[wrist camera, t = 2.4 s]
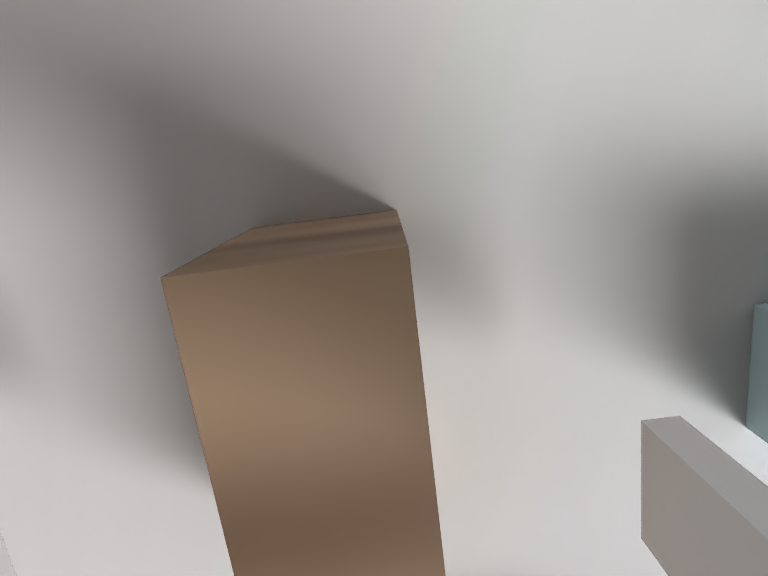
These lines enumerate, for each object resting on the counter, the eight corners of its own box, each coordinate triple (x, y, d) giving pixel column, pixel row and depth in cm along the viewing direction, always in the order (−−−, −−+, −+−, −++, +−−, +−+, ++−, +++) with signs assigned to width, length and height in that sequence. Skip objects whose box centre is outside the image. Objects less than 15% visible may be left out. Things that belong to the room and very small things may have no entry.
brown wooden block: (253, 227, 14) (160, 277, 8) (395, 209, 14) (407, 247, 8) (311, 527, 16) (273, 732, 10) (431, 513, 16) (461, 713, 10)
